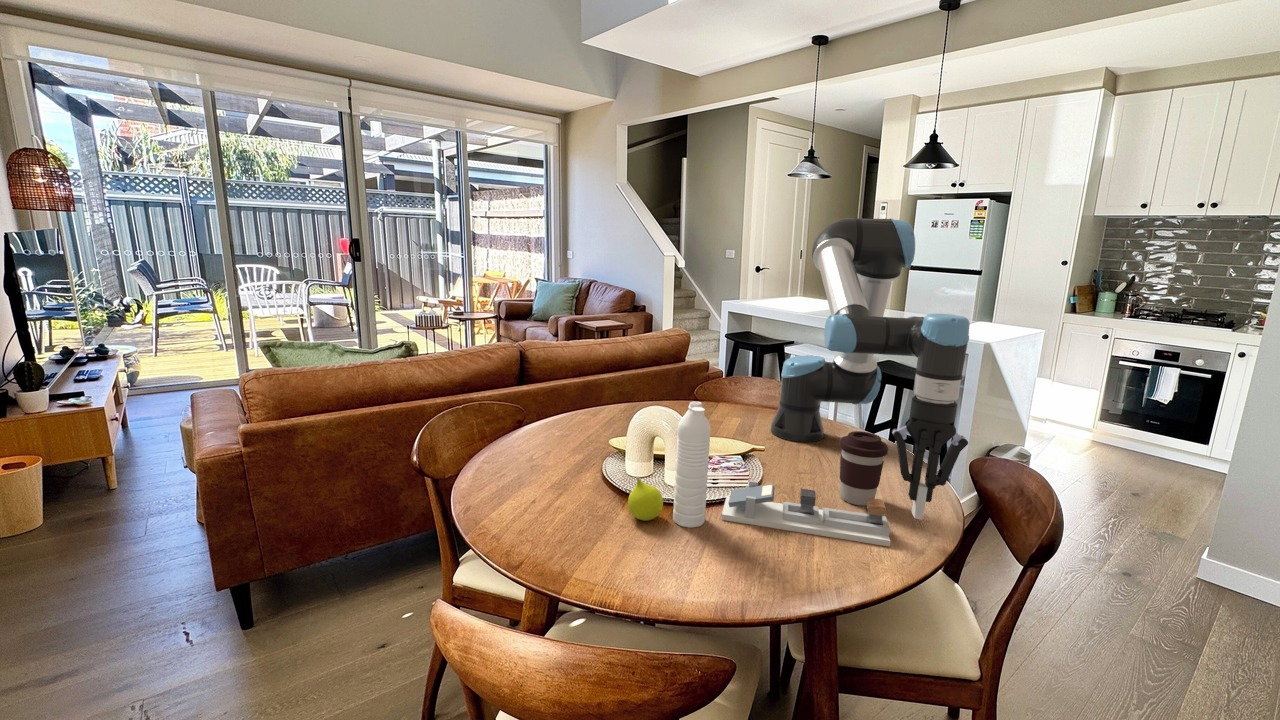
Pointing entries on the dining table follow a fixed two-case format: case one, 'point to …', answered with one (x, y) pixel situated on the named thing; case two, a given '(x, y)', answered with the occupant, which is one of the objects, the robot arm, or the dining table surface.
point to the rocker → (752, 495)
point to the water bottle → (691, 467)
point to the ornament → (645, 501)
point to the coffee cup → (860, 466)
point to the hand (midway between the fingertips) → (917, 515)
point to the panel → (808, 520)
